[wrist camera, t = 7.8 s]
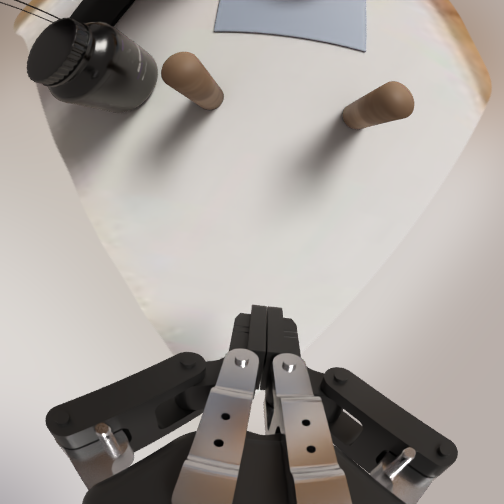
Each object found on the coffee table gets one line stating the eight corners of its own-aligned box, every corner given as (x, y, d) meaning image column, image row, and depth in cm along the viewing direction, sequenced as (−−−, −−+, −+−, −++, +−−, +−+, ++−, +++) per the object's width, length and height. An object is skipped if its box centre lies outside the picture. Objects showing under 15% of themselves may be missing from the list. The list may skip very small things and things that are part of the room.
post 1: (198, 84, 22) (164, 52, 13) (225, 85, 21) (202, 51, 13) (195, 109, 22) (158, 88, 14) (222, 110, 22) (197, 87, 14)
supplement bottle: (174, 71, 21) (110, 23, 10) (127, 126, 23) (42, 118, 12) (130, 40, 20) (61, -5, 8) (89, 91, 22) (6, 75, 10)
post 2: (343, 101, 21) (381, 76, 13) (368, 107, 21) (414, 88, 13) (341, 126, 22) (378, 112, 14) (366, 132, 22) (413, 123, 14)
